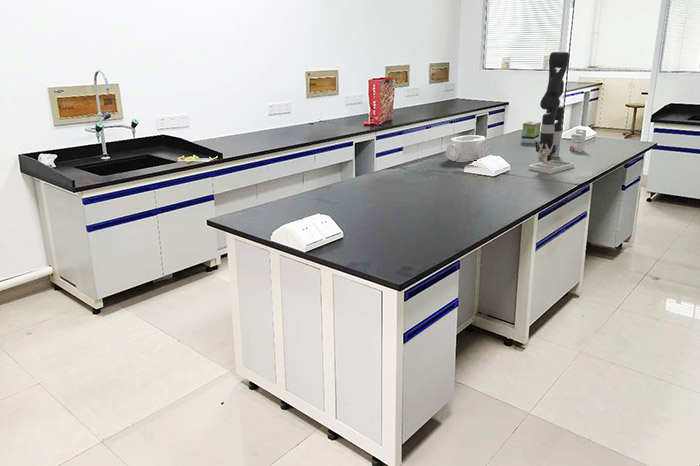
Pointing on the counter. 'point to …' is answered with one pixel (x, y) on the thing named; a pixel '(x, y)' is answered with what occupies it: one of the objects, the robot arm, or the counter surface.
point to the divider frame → (551, 166)
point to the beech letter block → (543, 157)
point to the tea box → (530, 132)
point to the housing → (468, 148)
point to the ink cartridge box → (578, 140)
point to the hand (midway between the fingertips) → (544, 160)
